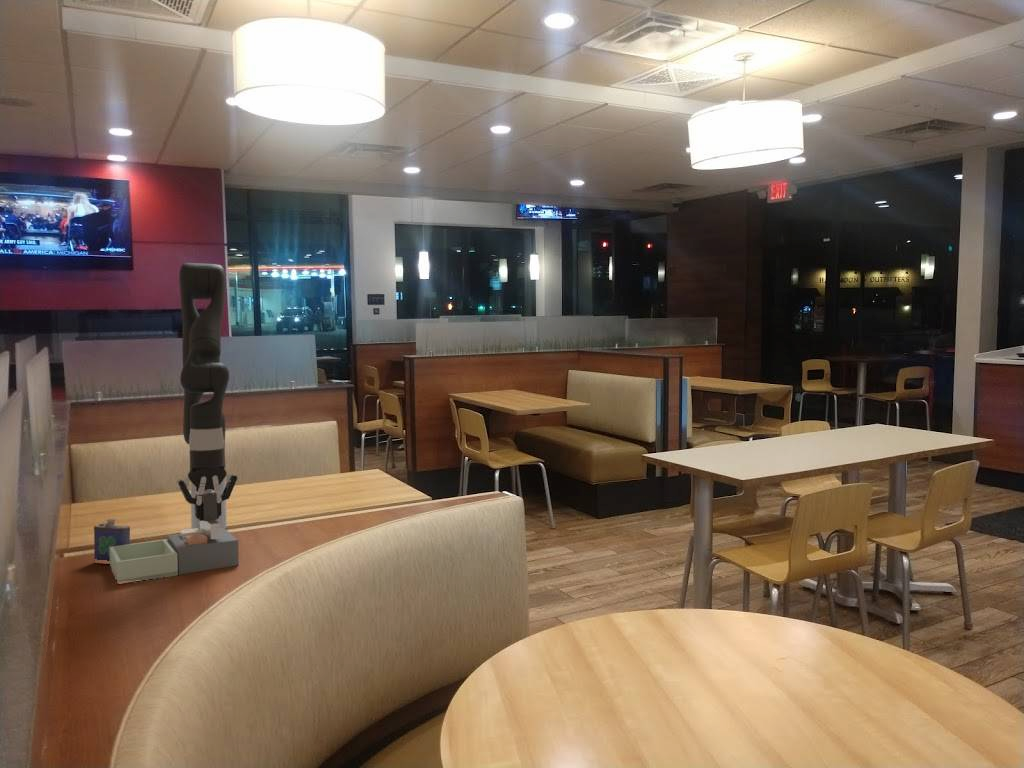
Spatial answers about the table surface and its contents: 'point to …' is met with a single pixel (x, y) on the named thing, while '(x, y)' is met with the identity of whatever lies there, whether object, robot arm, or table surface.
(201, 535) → the tile terracotta
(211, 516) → the scraper
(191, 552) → the grey slotted block
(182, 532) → the tile cream
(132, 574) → the box
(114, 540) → the flask
